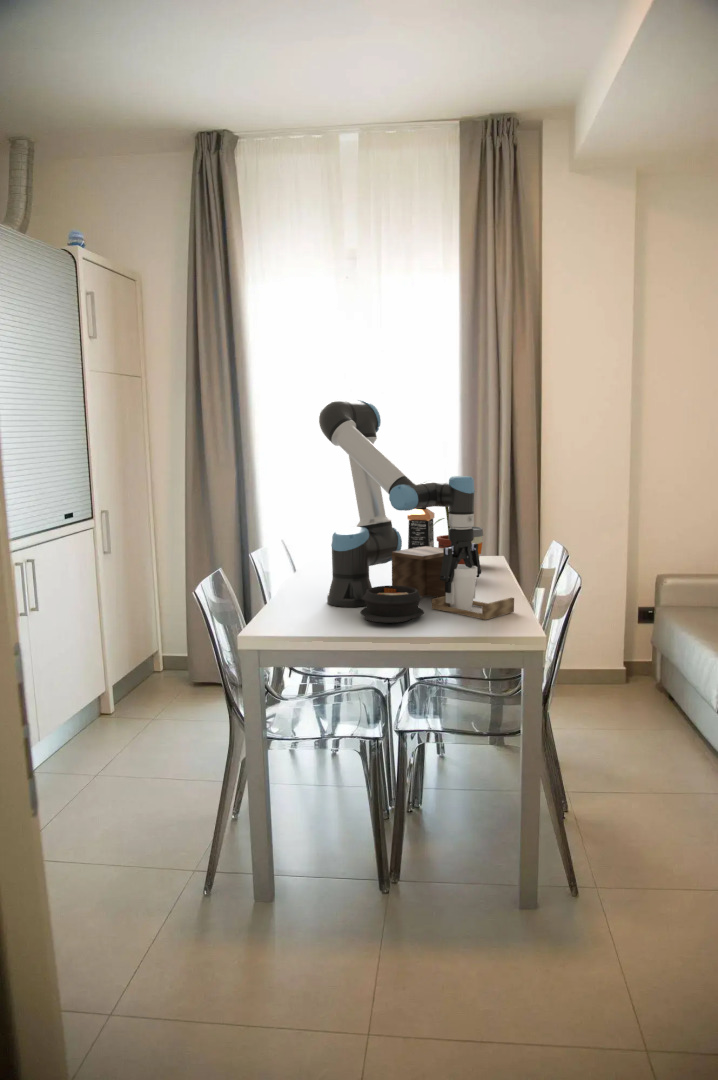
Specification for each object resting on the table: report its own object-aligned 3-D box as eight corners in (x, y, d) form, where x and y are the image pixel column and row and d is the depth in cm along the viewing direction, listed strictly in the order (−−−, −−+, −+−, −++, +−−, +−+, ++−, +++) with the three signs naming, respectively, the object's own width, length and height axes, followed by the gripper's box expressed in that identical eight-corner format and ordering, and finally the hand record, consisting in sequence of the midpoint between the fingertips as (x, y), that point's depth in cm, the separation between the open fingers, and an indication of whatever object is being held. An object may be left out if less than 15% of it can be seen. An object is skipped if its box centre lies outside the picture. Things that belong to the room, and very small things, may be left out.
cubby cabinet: (422, 608, 249) (422, 556, 247) (392, 602, 258) (391, 551, 256) (456, 600, 260) (456, 550, 258) (426, 594, 269) (426, 546, 267)
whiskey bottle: (412, 558, 340) (412, 482, 336) (435, 559, 337) (435, 482, 333) (406, 562, 331) (405, 484, 326) (429, 564, 328) (429, 484, 323)
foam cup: (476, 606, 252) (477, 564, 250) (477, 612, 242) (477, 570, 241) (446, 605, 253) (446, 564, 251) (445, 612, 244) (445, 569, 242)
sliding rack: (484, 619, 233) (485, 605, 232) (431, 608, 247) (431, 595, 246) (513, 611, 242) (514, 597, 241) (461, 601, 257) (461, 588, 256)
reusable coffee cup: (487, 564, 325) (488, 527, 323) (474, 569, 314) (475, 531, 312) (459, 562, 332) (459, 525, 329) (445, 566, 321) (445, 529, 319)
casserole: (370, 607, 251) (370, 580, 250) (430, 610, 247) (430, 583, 246) (350, 627, 227) (350, 597, 226) (416, 630, 223) (416, 600, 222)
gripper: (446, 532, 234) (446, 608, 237) (493, 525, 249) (492, 596, 252) (427, 530, 239) (427, 604, 243) (474, 523, 255) (473, 593, 258)
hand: (460, 600), depth 247 cm, fingers closed on foam cup, 9 cm apart
